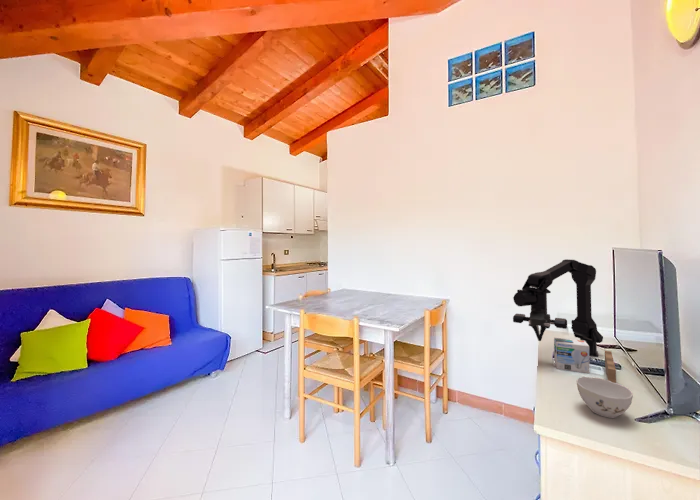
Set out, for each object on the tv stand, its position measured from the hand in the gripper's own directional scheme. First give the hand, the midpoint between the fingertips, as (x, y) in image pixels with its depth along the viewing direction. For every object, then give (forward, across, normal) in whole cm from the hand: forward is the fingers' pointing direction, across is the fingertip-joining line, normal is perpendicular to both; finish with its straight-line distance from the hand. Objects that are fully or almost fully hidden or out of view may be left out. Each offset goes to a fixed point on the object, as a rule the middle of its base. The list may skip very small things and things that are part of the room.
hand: (539, 340), depth 121 cm
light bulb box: (+9, +10, 0) cm, 14 cm away
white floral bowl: (+9, +19, -30) cm, 36 cm away
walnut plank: (+9, +22, 0) cm, 24 cm away
